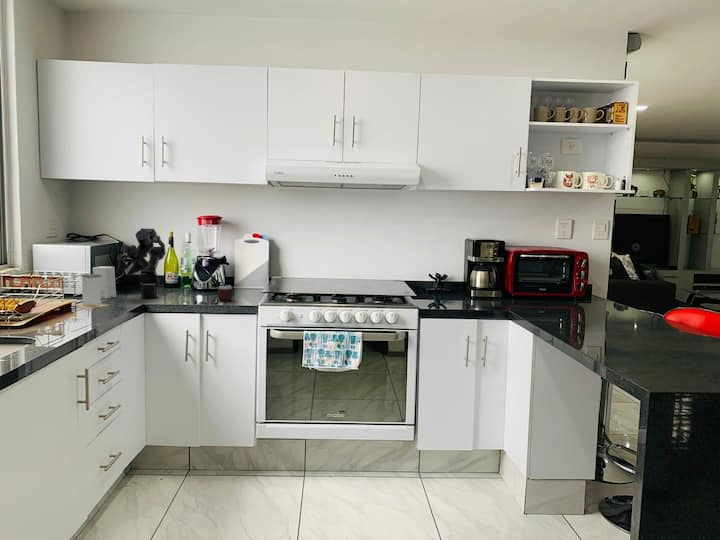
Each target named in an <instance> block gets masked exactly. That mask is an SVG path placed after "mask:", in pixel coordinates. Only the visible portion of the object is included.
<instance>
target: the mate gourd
mask: <svg viewBox="0 0 720 540" xmlns="http://www.w3.org/2000/svg"><path fill="white" fill-rule="evenodd" d="M214 272H215V274H217V275H218V277H219V279H220V283H221V285H219V286H218V289H217V294H218V295H217V296H218V302H219V303H228V302H232V301H233V300H232V298H233V293H234V292H233V287H232V285H231V284H224V283H223V282H224V281H223V280H222V277H221V275H220V274H219V273H218V272H217V271H216V270H214Z"/></svg>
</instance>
